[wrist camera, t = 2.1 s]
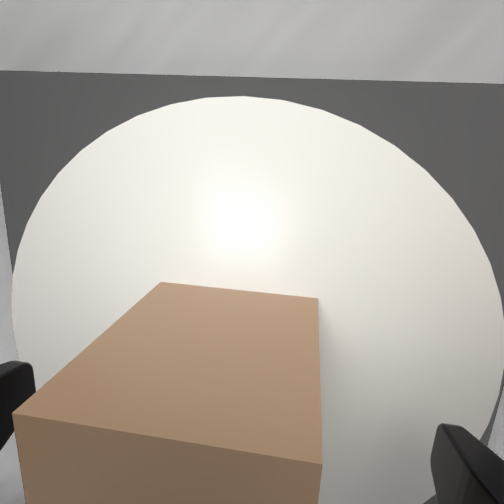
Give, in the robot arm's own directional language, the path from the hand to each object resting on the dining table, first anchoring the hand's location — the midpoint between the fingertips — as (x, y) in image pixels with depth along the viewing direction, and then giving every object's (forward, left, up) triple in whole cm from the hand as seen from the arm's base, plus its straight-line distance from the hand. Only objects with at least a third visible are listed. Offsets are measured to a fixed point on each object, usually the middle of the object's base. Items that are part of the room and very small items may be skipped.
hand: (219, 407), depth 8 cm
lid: (0, 0, -3) cm, 3 cm away
